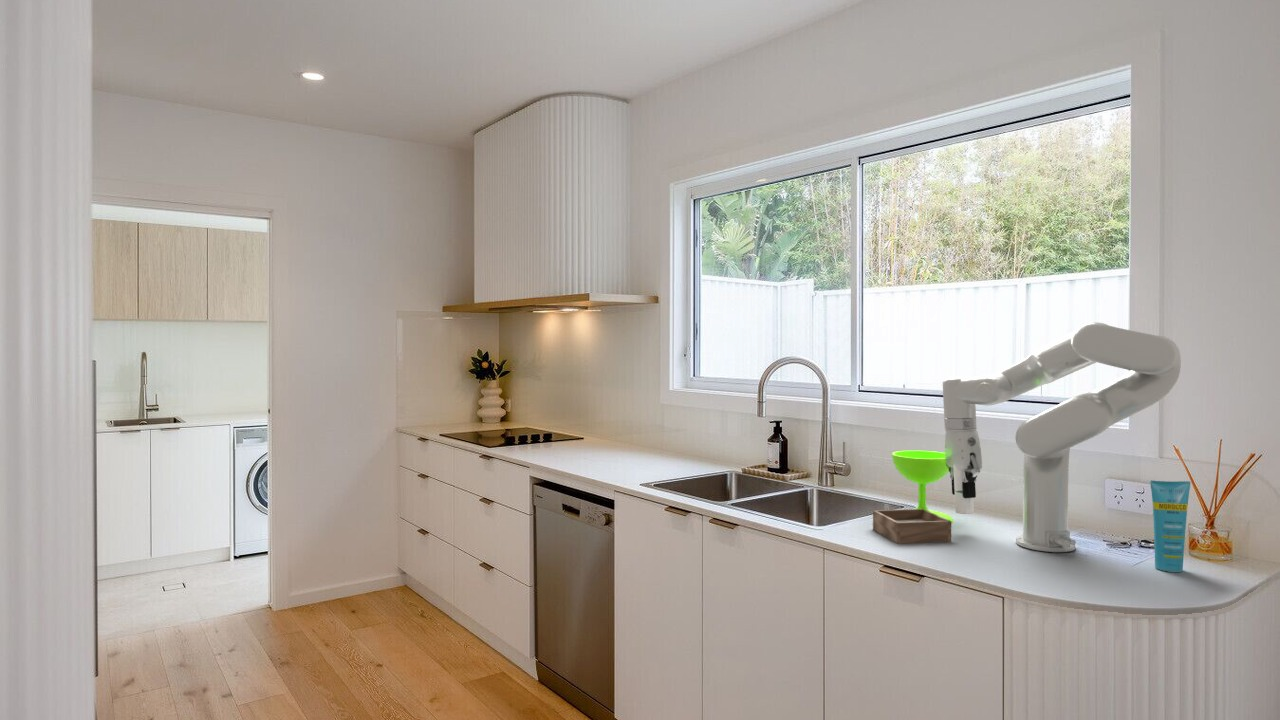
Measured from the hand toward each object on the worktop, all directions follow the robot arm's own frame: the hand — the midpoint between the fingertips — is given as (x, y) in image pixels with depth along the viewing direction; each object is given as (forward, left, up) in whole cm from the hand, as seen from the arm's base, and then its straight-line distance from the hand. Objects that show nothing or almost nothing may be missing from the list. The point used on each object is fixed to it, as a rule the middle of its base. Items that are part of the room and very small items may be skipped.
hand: (963, 495), depth 191 cm
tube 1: (0, 0, -5) cm, 5 cm away
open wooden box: (+1, +14, -10) cm, 17 cm away
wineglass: (+17, +2, -10) cm, 20 cm away
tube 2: (-34, -27, -10) cm, 45 cm away
